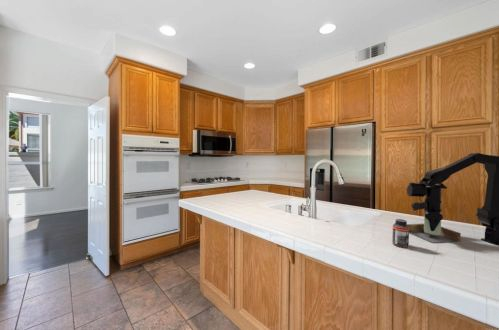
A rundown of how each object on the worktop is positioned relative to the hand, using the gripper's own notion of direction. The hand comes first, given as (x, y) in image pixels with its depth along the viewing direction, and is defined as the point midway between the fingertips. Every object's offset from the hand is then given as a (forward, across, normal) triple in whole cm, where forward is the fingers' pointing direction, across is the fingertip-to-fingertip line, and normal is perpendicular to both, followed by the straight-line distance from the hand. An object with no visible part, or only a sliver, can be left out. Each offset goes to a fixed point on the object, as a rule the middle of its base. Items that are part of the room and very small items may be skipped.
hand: (431, 229), depth 106 cm
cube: (+1, 0, 0) cm, 1 cm away
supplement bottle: (+4, +21, -11) cm, 24 cm away
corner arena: (+4, -1, 0) cm, 4 cm away
